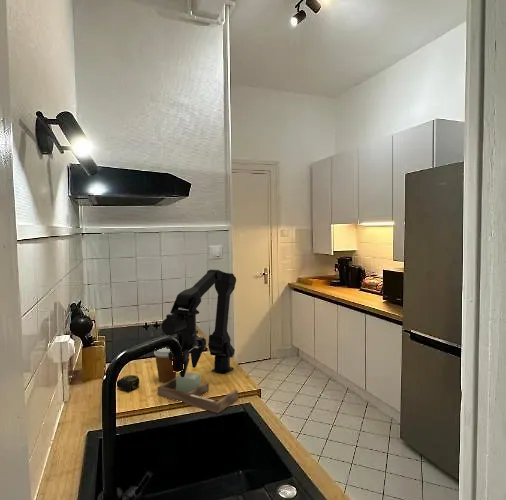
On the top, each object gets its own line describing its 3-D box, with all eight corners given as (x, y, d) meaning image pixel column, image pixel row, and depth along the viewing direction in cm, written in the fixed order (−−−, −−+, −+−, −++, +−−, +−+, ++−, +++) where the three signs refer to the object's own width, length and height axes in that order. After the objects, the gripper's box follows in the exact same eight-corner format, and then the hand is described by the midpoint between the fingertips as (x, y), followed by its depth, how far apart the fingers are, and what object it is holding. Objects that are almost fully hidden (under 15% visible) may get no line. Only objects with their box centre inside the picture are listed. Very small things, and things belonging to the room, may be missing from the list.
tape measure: (115, 389, 134) (115, 379, 133) (131, 383, 139) (130, 373, 139) (127, 393, 130) (127, 383, 130) (143, 387, 136) (143, 376, 135)
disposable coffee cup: (173, 385, 137) (173, 352, 136) (150, 383, 139) (149, 351, 138) (183, 375, 146) (183, 345, 145) (161, 373, 148) (160, 343, 147)
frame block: (182, 387, 135) (182, 372, 135) (200, 389, 133) (200, 373, 133) (176, 393, 130) (176, 377, 130) (194, 395, 128) (194, 379, 128)
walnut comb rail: (179, 383, 138) (179, 375, 138) (237, 399, 125) (237, 390, 125) (157, 395, 128) (157, 386, 128) (218, 413, 115) (217, 403, 115)
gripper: (179, 321, 142) (180, 361, 143) (153, 334, 124) (154, 380, 125) (206, 322, 139) (206, 363, 140) (183, 336, 121) (184, 383, 122)
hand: (188, 372), depth 132 cm, fingers open, 9 cm apart
